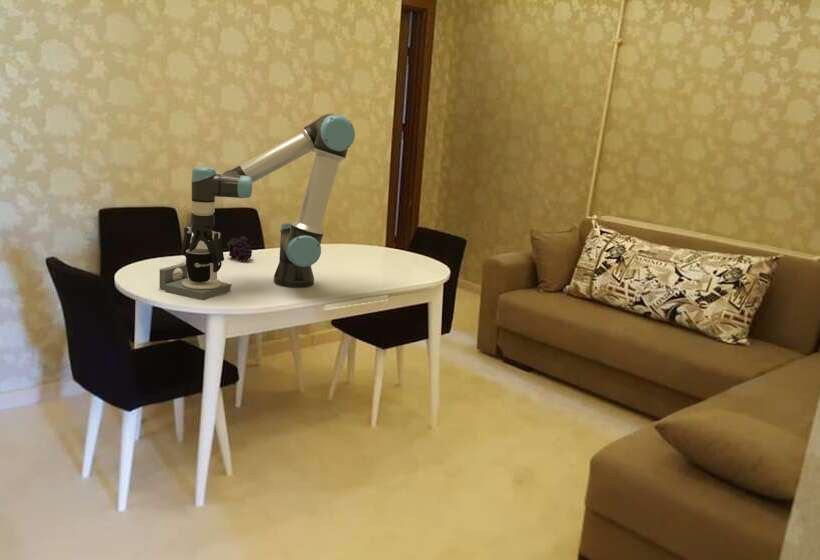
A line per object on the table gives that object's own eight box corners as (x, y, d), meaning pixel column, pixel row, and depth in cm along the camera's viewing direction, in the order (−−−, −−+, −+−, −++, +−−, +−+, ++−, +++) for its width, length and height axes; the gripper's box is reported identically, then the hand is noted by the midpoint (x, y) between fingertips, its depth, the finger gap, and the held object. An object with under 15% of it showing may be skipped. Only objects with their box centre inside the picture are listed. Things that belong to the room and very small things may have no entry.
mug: (190, 284, 219) (190, 254, 216) (182, 277, 226) (182, 248, 223) (225, 281, 225) (225, 252, 223) (217, 275, 233) (217, 247, 230)
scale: (230, 290, 232) (231, 271, 230) (202, 300, 218) (203, 279, 216) (185, 281, 238) (186, 262, 237) (156, 289, 225) (156, 269, 223)
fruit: (239, 270, 273) (220, 254, 281) (261, 264, 280) (241, 248, 288) (240, 249, 267) (220, 233, 276) (262, 243, 274) (242, 228, 283)
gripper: (236, 216, 220) (234, 281, 226) (184, 208, 227) (184, 271, 233) (222, 219, 213) (221, 286, 219) (169, 210, 221) (169, 275, 226)
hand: (202, 278), depth 226 cm, fingers closed on mug, 9 cm apart
